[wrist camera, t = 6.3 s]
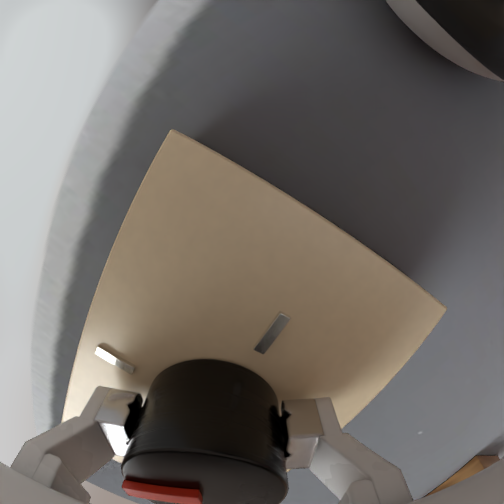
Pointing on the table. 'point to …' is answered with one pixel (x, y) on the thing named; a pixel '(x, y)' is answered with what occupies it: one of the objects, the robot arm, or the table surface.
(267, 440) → the dial
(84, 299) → the table surface
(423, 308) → the panel
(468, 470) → the button block
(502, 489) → the robot arm
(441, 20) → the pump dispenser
